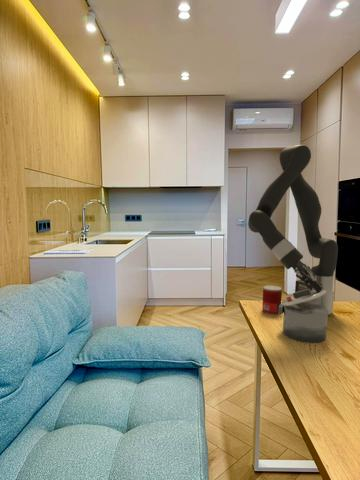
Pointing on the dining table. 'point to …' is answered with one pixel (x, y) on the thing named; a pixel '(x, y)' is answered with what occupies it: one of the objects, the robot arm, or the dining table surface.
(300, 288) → the coffee box
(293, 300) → the lid
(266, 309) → the canned food
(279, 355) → the dining table surface
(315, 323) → the cooker pot
